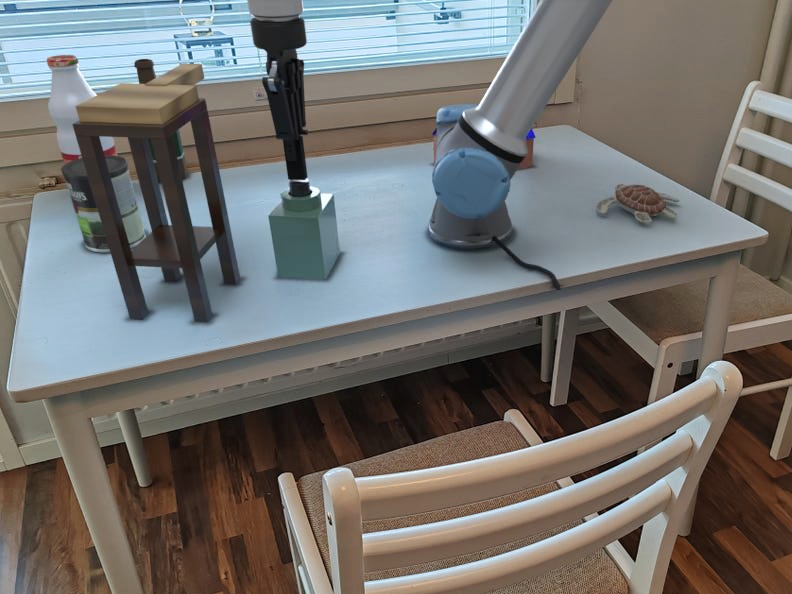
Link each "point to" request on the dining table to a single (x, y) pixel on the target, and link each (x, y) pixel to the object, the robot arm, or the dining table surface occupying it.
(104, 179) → the plant stand
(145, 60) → the beer bottle
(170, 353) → the dining table surface
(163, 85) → the cutting board
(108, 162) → the coffee can
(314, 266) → the soap bottle
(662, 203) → the decorative turtle
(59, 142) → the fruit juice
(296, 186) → the black bottle cap
